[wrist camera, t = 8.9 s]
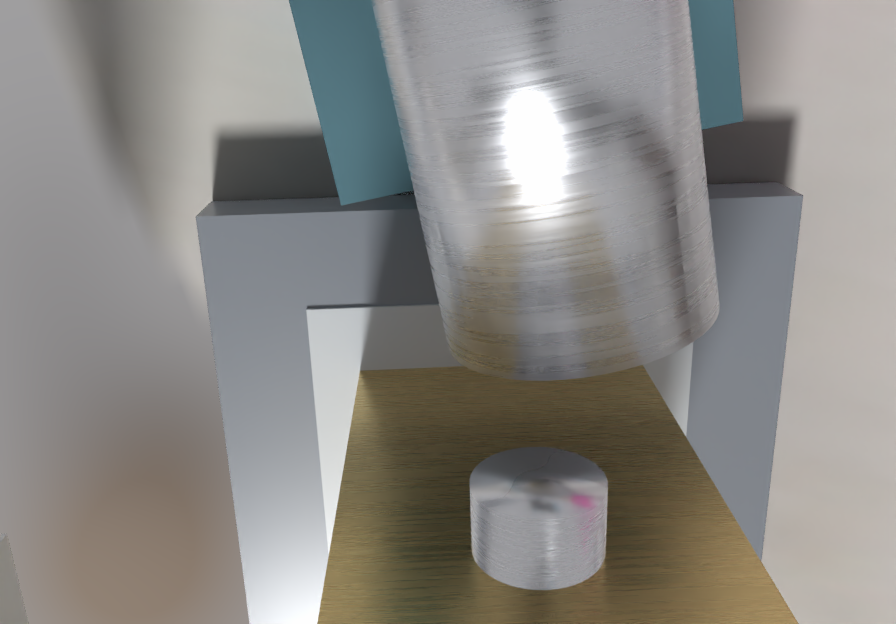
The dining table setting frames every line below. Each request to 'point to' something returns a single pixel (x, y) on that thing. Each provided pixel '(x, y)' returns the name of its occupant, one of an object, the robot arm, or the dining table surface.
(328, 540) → the cradle
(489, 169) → the shaft
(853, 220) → the dining table surface
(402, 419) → the block
